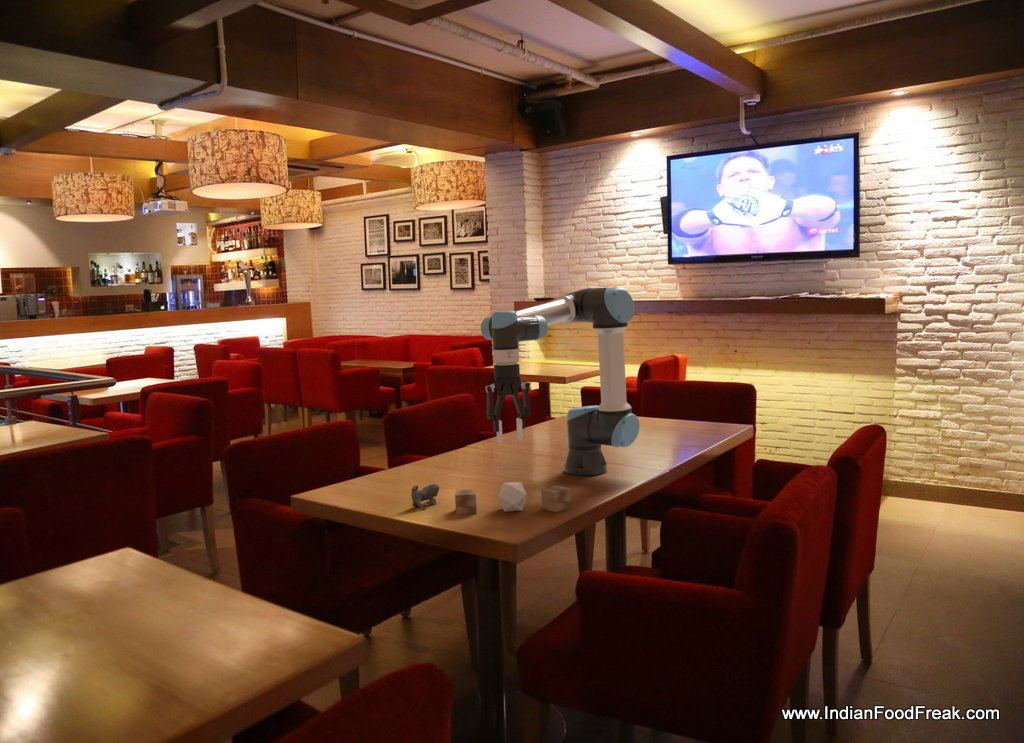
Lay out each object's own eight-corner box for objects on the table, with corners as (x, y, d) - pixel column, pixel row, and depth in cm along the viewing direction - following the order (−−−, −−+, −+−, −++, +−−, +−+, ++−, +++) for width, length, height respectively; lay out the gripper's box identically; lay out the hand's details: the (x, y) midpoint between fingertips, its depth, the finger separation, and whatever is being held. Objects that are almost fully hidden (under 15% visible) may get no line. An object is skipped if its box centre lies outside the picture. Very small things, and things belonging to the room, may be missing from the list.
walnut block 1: (477, 508, 239) (476, 489, 238) (476, 514, 233) (475, 494, 232) (457, 509, 239) (456, 490, 238) (456, 515, 233) (455, 495, 232)
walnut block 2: (556, 504, 239) (556, 485, 238) (570, 508, 234) (570, 488, 234) (542, 508, 235) (541, 489, 235) (556, 512, 231) (555, 492, 230)
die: (517, 517, 229) (534, 487, 231) (490, 502, 230) (507, 472, 232) (517, 520, 237) (533, 490, 240) (491, 505, 238) (507, 476, 241)
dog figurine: (420, 511, 238) (419, 487, 237) (406, 509, 241) (405, 485, 241) (446, 502, 247) (445, 478, 247) (433, 499, 251) (432, 477, 250)
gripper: (480, 367, 224) (484, 446, 226) (540, 362, 230) (543, 439, 233) (472, 364, 231) (476, 442, 233) (531, 360, 237) (534, 435, 240)
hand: (510, 441), depth 233 cm, fingers open, 6 cm apart
